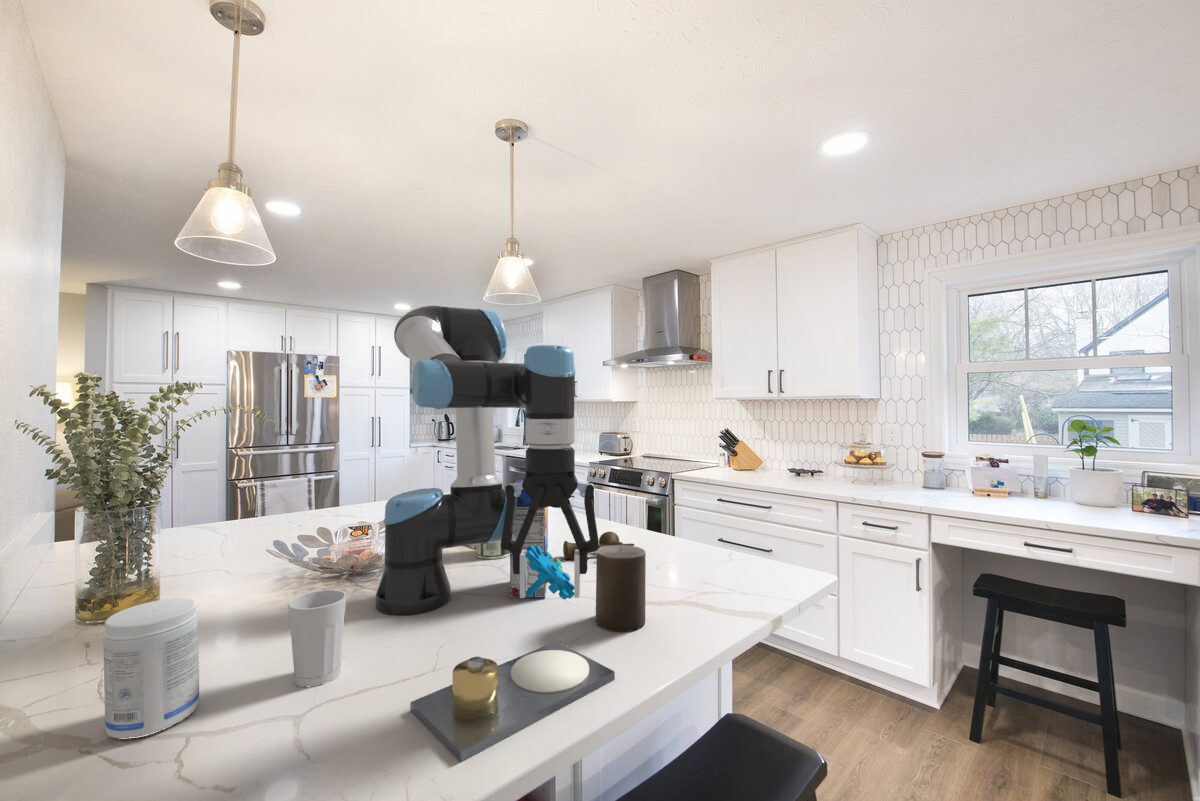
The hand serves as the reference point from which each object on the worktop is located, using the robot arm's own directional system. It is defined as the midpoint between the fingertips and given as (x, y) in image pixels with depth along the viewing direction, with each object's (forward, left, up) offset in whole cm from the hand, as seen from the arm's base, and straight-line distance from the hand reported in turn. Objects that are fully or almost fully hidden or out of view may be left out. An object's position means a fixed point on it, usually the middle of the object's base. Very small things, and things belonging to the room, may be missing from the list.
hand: (550, 594), depth 79 cm
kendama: (+7, +62, -13) cm, 64 cm away
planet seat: (0, 0, -12) cm, 12 cm away
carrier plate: (-4, -4, -13) cm, 14 cm away
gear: (0, 0, 0) cm, 0 cm away
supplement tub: (-52, -10, -13) cm, 55 cm away
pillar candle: (+12, +21, -13) cm, 27 cm away
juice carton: (-8, +38, -13) cm, 41 cm away
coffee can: (-22, +65, -13) cm, 70 cm away
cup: (-36, +1, -13) cm, 39 cm away
